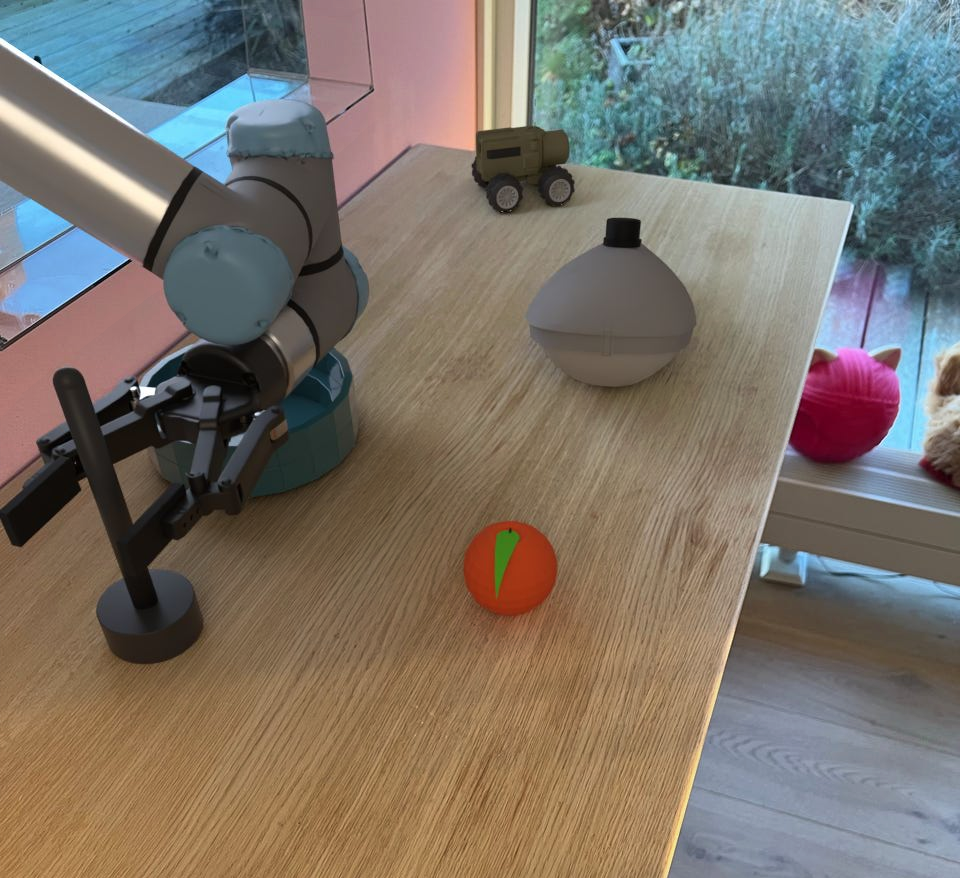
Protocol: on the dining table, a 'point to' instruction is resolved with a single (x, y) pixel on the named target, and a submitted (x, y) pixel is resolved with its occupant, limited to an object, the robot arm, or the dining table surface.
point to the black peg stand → (130, 601)
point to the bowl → (310, 420)
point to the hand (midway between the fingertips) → (67, 544)
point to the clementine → (510, 567)
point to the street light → (613, 311)
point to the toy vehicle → (522, 165)
